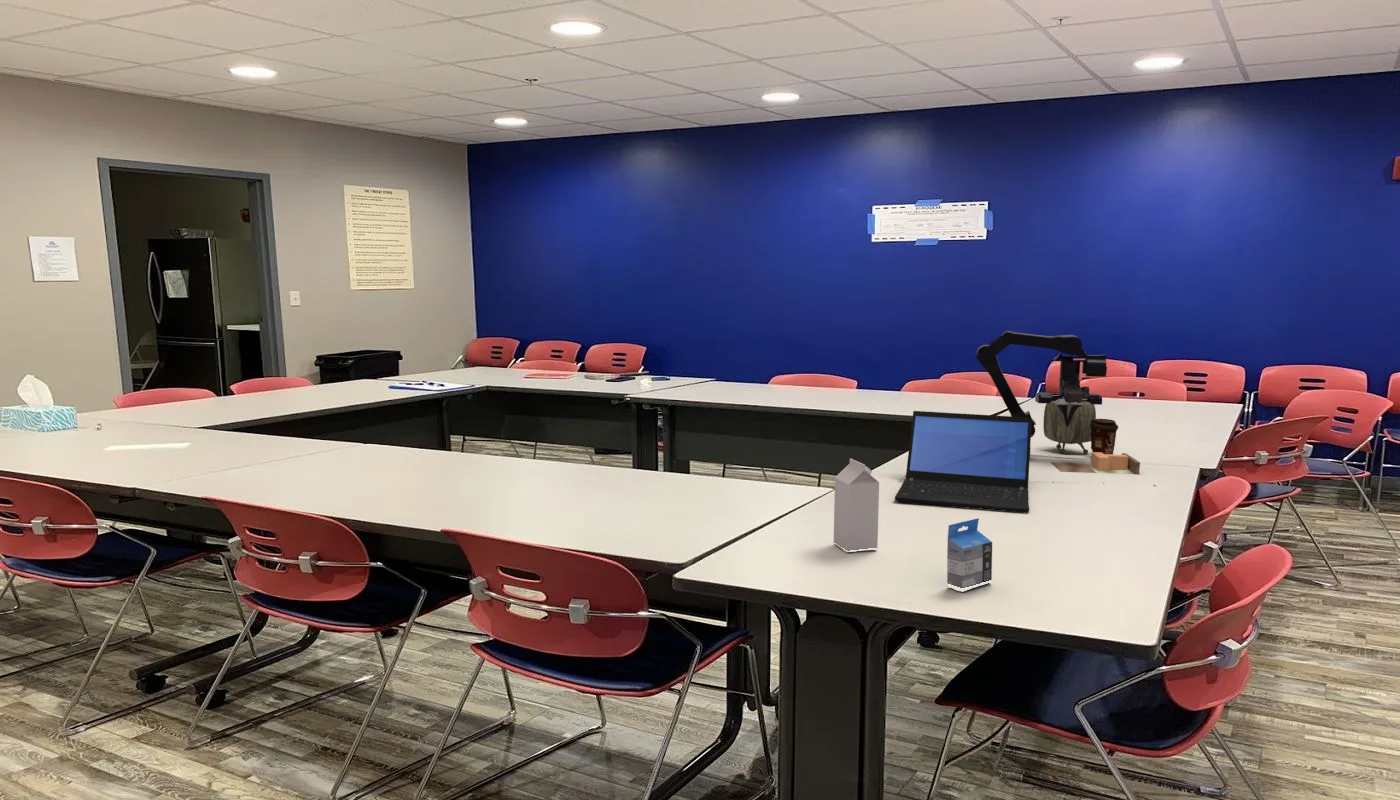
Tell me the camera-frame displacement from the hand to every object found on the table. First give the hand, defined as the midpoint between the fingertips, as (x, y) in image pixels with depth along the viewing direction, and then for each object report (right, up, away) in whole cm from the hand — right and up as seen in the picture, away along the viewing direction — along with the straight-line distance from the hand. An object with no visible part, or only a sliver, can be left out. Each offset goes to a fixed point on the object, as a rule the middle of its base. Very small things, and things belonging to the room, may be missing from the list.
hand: (1066, 426), depth 293 cm
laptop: (-42, -18, -37) cm, 58 cm away
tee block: (+9, -12, -10) cm, 18 cm away
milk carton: (-80, -24, -89) cm, 122 cm away
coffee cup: (+14, -11, +8) cm, 20 cm away
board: (+4, -13, -9) cm, 17 cm away
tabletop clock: (+8, -10, +21) cm, 24 cm away
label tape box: (-63, -28, -113) cm, 133 cm away
